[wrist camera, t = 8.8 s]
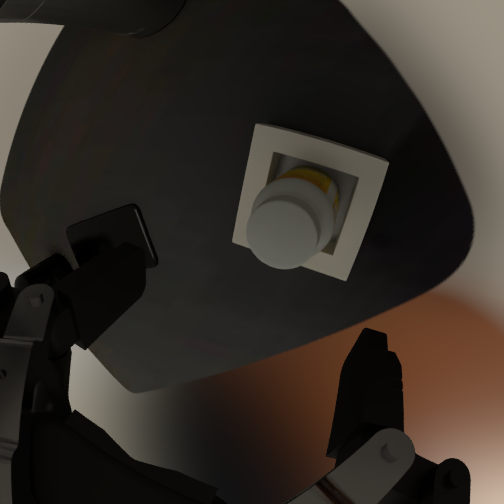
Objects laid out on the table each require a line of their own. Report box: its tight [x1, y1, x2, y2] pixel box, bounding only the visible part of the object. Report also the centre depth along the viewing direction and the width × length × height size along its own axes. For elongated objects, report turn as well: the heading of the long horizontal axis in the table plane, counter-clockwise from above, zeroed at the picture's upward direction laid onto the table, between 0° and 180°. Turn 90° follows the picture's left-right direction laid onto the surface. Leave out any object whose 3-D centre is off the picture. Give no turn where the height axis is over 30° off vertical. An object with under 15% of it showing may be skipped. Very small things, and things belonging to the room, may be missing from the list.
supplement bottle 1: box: [15, 254, 73, 290], centre depth 36 cm, size 7×7×12 cm
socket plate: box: [232, 124, 389, 281], centre depth 23 cm, size 10×10×3 cm
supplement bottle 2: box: [246, 166, 340, 269], centre depth 20 cm, size 5×5×10 cm
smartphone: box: [66, 204, 158, 268], centre depth 35 cm, size 8×1×16 cm
